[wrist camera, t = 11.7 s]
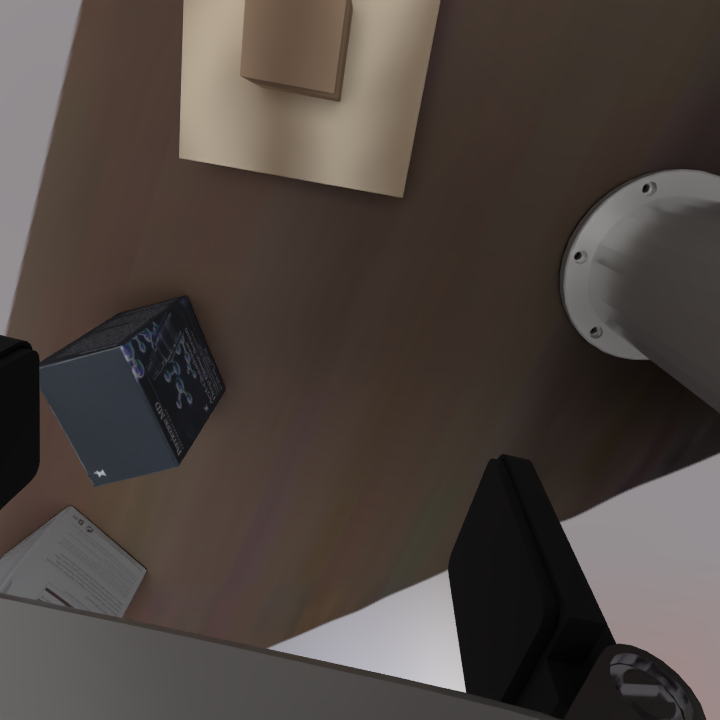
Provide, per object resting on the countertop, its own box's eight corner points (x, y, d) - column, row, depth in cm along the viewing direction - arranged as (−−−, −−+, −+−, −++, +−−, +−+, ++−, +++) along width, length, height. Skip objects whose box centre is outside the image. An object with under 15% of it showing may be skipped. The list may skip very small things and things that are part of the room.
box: (228, 389, 39) (179, 470, 29) (160, 405, 40) (90, 490, 30) (188, 292, 36) (119, 345, 26) (116, 311, 37) (22, 371, 27)
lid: (452, -70, 24) (473, -129, 19) (401, 196, 28) (407, 206, 23) (194, -122, 23) (145, -196, 18) (185, 157, 28) (143, 159, 23)
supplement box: (81, 615, 48) (-57, 836, 33) (2, 554, 46) (-189, 763, 30) (151, 569, 46) (38, 784, 31) (72, 501, 43) (-97, 700, 28)
